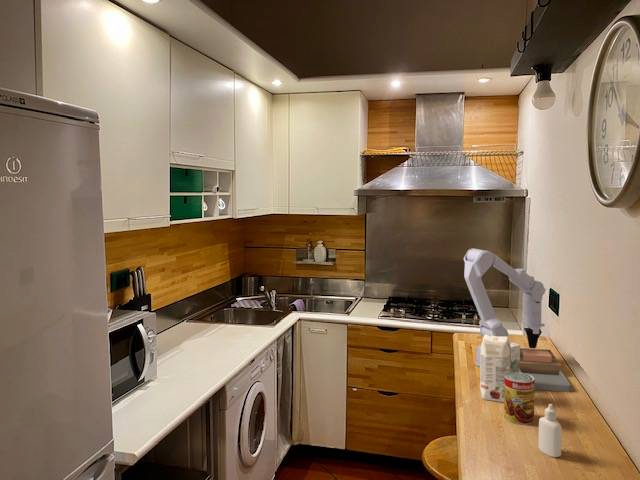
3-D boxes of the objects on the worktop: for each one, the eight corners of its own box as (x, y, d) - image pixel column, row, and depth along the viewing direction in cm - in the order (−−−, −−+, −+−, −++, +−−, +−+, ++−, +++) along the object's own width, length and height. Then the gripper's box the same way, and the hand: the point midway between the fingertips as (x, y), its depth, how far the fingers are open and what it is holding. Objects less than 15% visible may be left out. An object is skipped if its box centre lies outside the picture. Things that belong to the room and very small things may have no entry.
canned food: (518, 426, 135) (518, 383, 134) (497, 415, 142) (498, 374, 141) (540, 421, 138) (541, 379, 137) (519, 410, 145) (519, 370, 144)
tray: (571, 392, 158) (571, 385, 158) (524, 388, 162) (524, 382, 161) (560, 376, 172) (561, 370, 172) (517, 373, 175) (517, 368, 175)
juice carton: (508, 404, 150) (509, 342, 148) (479, 399, 153) (479, 339, 152) (510, 395, 157) (511, 335, 155) (482, 391, 160) (482, 333, 159)
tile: (551, 362, 175) (551, 356, 175) (524, 360, 177) (524, 355, 177) (547, 356, 181) (548, 351, 181) (521, 355, 183) (521, 349, 183)
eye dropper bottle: (555, 447, 124) (556, 400, 123) (562, 458, 118) (563, 409, 117) (537, 445, 125) (538, 399, 124) (542, 457, 119) (543, 408, 118)
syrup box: (503, 382, 168) (504, 339, 167) (519, 387, 163) (520, 343, 162) (493, 386, 164) (494, 342, 163) (509, 391, 160) (510, 347, 159)
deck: (560, 376, 172) (561, 365, 172) (517, 373, 175) (517, 362, 175) (549, 360, 189) (550, 349, 189) (510, 357, 193) (510, 347, 192)
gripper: (548, 317, 178) (547, 354, 179) (540, 308, 192) (540, 342, 193) (527, 316, 179) (526, 353, 180) (521, 307, 193) (520, 341, 194)
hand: (532, 347), depth 187 cm, fingers closed
